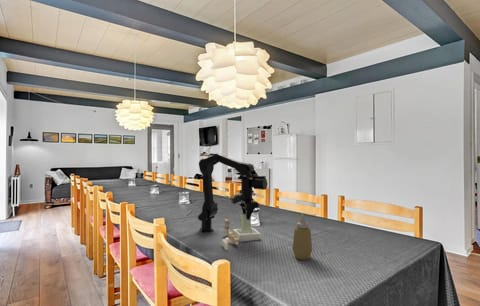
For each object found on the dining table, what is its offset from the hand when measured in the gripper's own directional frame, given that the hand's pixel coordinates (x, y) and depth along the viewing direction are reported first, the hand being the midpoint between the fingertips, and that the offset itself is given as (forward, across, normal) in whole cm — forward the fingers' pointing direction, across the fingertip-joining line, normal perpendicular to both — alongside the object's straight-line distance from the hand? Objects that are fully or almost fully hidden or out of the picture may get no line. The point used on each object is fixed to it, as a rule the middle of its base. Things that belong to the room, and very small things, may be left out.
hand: (246, 218), depth 140 cm
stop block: (+6, 0, 0) cm, 6 cm away
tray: (+10, 0, 0) cm, 10 cm away
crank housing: (+9, +8, -10) cm, 16 cm away
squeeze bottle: (+10, +32, +13) cm, 36 cm away
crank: (+8, +2, -9) cm, 12 cm away
